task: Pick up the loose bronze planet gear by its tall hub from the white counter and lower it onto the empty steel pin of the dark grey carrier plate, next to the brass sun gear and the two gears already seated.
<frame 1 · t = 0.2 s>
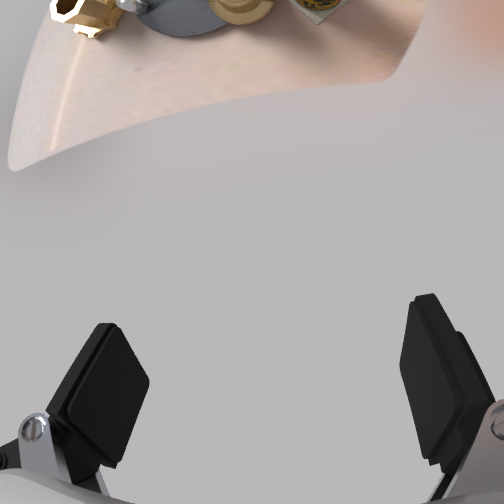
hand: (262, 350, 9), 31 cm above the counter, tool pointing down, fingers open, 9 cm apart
planet gear: (101, 11, 28), on the counter
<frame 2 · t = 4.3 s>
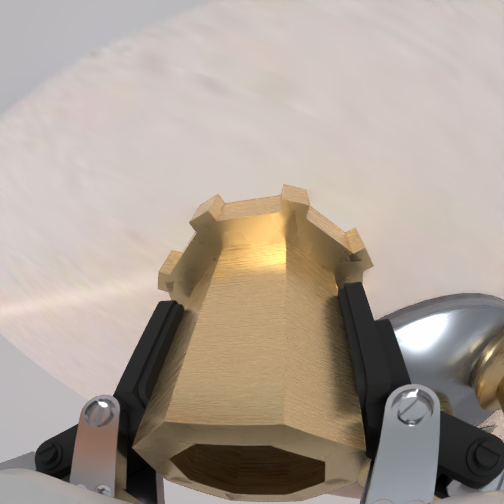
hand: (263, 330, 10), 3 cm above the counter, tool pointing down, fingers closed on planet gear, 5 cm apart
planet gear: (268, 281, 13), on the counter, touching gripper
carrier: (418, 396, 16), on the counter
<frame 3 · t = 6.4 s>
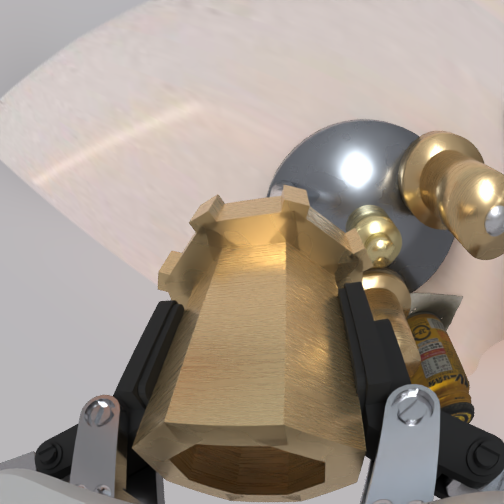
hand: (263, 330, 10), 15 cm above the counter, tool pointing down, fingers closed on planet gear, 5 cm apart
planet gear: (268, 281, 13), point 12 cm above the counter, touching gripper
carrier: (365, 220, 24), on the counter
condiment: (419, 324, 29), on the counter
when the fingers open (6 cm above the counter, at t = 8.6 s): planet gear drops 2 cm, resting on carrier.
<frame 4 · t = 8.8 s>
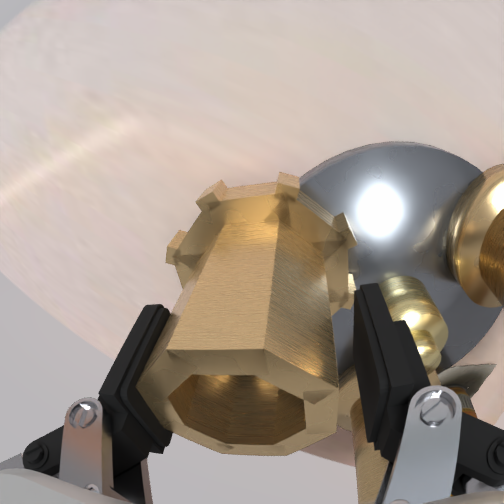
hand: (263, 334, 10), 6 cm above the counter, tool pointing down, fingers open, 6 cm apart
planet gear: (264, 260, 14), point 1 cm above the counter, touching carrier, gripper
carrier: (390, 291, 16), on the counter
condiment: (440, 396, 21), on the counter
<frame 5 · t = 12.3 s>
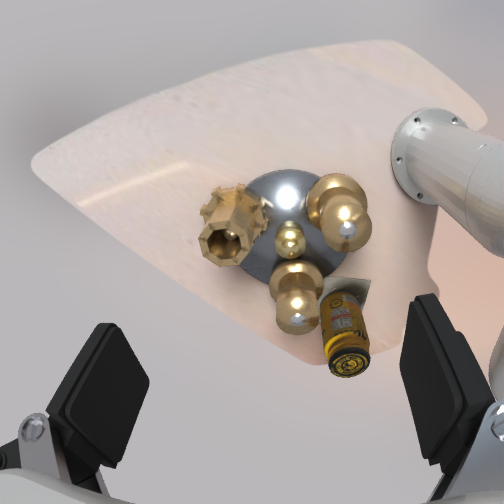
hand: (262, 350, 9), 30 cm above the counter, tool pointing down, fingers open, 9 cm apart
planet gear: (235, 214, 39), point 1 cm above the counter, touching carrier
carrier: (289, 230, 40), on the counter
condiment: (340, 300, 45), on the counter
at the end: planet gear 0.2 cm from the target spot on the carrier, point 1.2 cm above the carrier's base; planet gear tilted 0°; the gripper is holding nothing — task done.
